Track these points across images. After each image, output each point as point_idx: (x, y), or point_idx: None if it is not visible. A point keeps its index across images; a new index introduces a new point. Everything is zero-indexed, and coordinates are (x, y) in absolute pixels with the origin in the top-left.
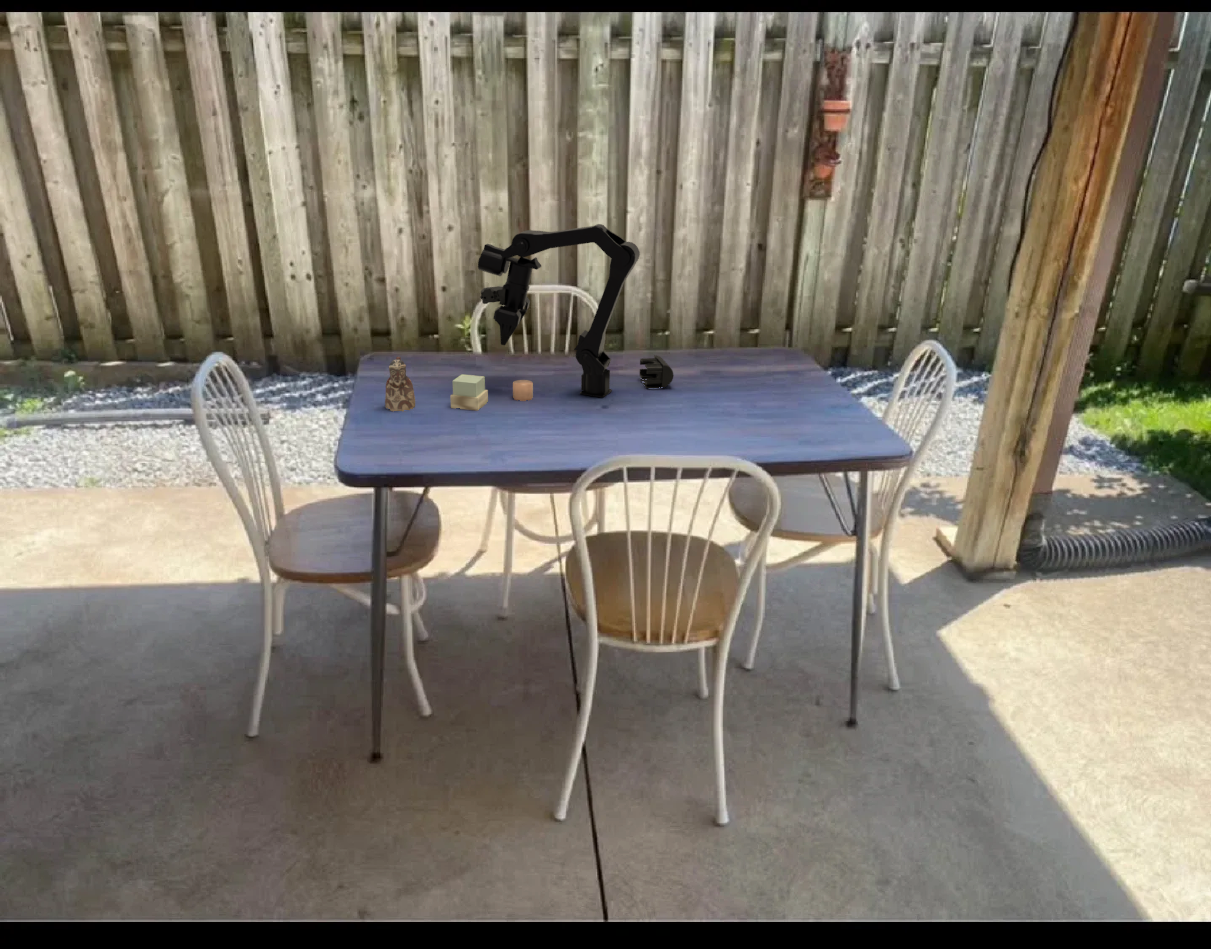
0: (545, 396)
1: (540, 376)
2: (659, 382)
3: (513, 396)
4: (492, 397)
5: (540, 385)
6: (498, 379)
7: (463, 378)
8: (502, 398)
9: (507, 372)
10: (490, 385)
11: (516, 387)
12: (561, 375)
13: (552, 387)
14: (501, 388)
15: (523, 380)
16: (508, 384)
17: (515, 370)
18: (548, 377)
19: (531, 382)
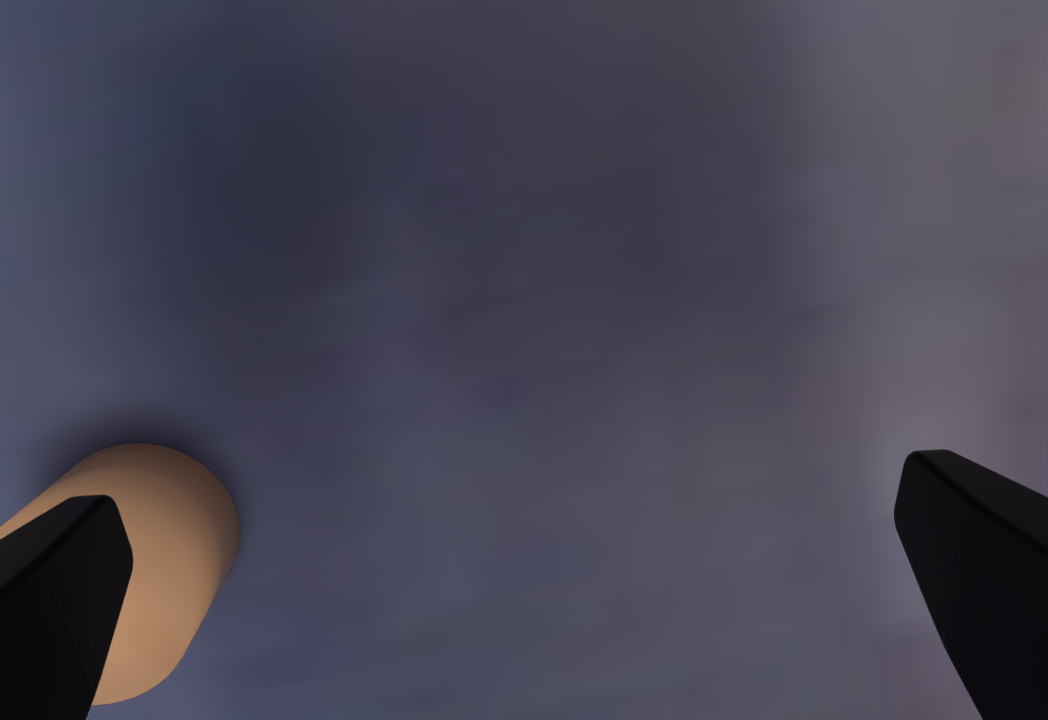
0: (245, 696)
1: (835, 538)
2: None
3: (79, 463)
4: (57, 249)
5: (554, 594)
6: (681, 161)
7: None
8: (60, 354)
9: (945, 197)
10: (452, 127)
11: None
12: (884, 697)
13: (516, 698)
14: (377, 267)
15: (172, 596)
16: (526, 305)
17: (1022, 263)
18: (811, 609)
19: (127, 687)
